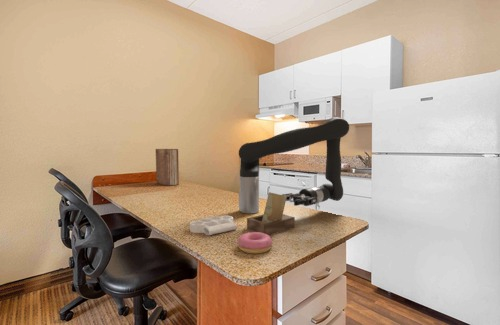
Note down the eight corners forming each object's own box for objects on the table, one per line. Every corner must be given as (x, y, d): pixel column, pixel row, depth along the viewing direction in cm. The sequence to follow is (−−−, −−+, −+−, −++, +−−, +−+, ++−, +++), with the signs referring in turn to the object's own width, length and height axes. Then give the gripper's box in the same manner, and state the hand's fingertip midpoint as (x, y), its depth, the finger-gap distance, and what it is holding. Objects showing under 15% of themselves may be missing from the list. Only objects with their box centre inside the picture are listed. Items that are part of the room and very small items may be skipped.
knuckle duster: (200, 239, 88) (184, 228, 100) (244, 229, 99) (225, 221, 110) (200, 230, 88) (184, 220, 100) (243, 221, 98) (224, 213, 110)
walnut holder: (247, 228, 99) (246, 218, 98) (274, 221, 108) (274, 211, 108) (266, 236, 90) (266, 224, 90) (294, 227, 100) (294, 217, 100)
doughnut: (272, 242, 85) (272, 230, 85) (272, 256, 74) (272, 242, 74) (239, 241, 86) (239, 229, 85) (235, 255, 75) (235, 241, 74)
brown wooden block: (179, 185, 213) (178, 148, 211) (168, 186, 207) (167, 149, 205) (166, 182, 232) (165, 148, 230) (156, 183, 226) (155, 148, 224)
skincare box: (261, 222, 99) (267, 191, 101) (268, 224, 102) (275, 193, 103) (272, 226, 94) (279, 194, 96) (280, 227, 97) (287, 196, 98)
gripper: (298, 186, 120) (274, 189, 110) (324, 189, 109) (300, 194, 99) (298, 201, 121) (274, 207, 110) (324, 207, 110) (300, 213, 99)
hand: (286, 201), depth 104 cm, fingers open, 8 cm apart
